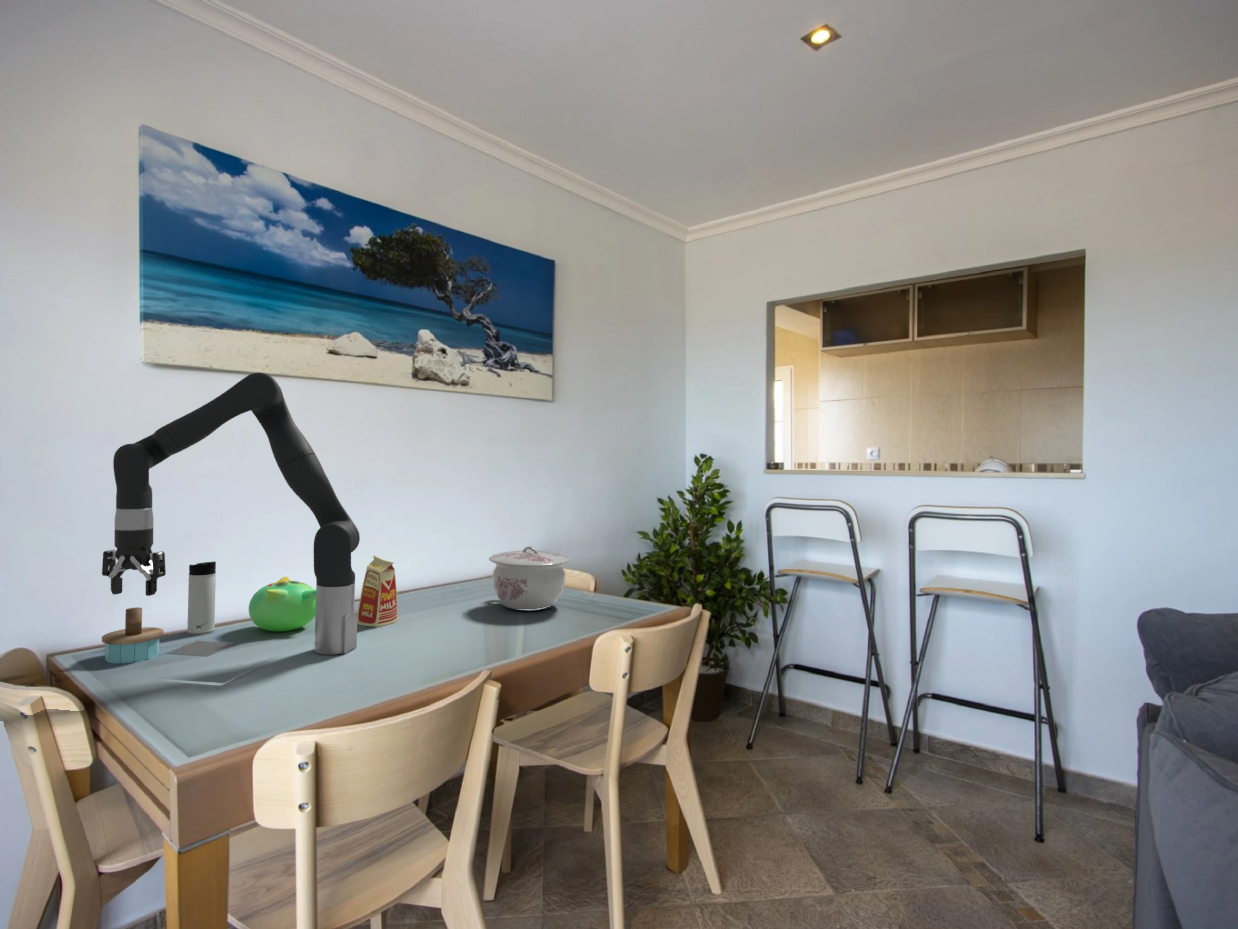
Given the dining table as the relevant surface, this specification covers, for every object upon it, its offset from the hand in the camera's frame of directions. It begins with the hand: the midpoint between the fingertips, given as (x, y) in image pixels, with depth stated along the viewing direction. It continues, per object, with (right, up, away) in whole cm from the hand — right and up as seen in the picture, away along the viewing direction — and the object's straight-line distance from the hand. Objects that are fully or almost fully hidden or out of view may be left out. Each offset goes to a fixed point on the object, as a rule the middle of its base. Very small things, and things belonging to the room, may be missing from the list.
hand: (133, 594), depth 159 cm
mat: (+11, -16, +9) cm, 21 cm away
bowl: (-1, -16, 0) cm, 16 cm away
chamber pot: (+85, -18, +67) cm, 110 cm away
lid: (0, -10, 0) cm, 10 cm away
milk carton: (+44, -17, +41) cm, 62 cm away
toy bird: (+22, -16, +29) cm, 39 cm away
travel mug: (+2, -15, +22) cm, 27 cm away
